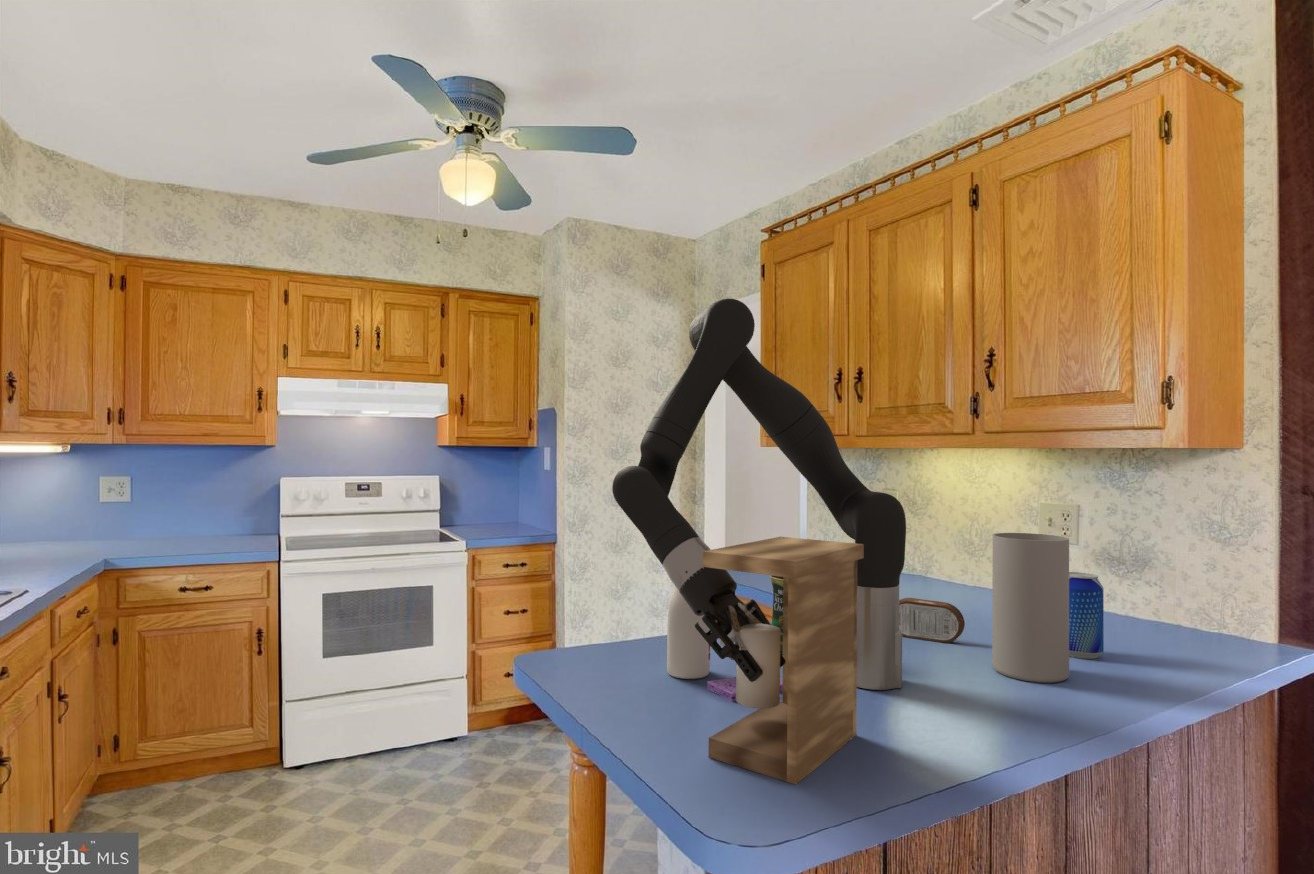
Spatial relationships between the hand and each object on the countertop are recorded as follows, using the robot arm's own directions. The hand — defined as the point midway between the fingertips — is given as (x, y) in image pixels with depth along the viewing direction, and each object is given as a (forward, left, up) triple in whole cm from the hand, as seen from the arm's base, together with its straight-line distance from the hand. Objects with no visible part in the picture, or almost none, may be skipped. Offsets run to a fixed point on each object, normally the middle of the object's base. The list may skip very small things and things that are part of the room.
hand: (769, 671), depth 99 cm
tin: (-36, -61, -10) cm, 71 cm away
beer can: (-64, -54, -10) cm, 84 cm away
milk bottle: (+13, -29, -10) cm, 34 cm away
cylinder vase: (-49, -39, -10) cm, 63 cm away
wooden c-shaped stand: (-3, +2, -10) cm, 10 cm away
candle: (+1, -1, -4) cm, 5 cm away
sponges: (+2, -22, -10) cm, 25 cm away
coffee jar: (-7, -46, -10) cm, 48 cm away
